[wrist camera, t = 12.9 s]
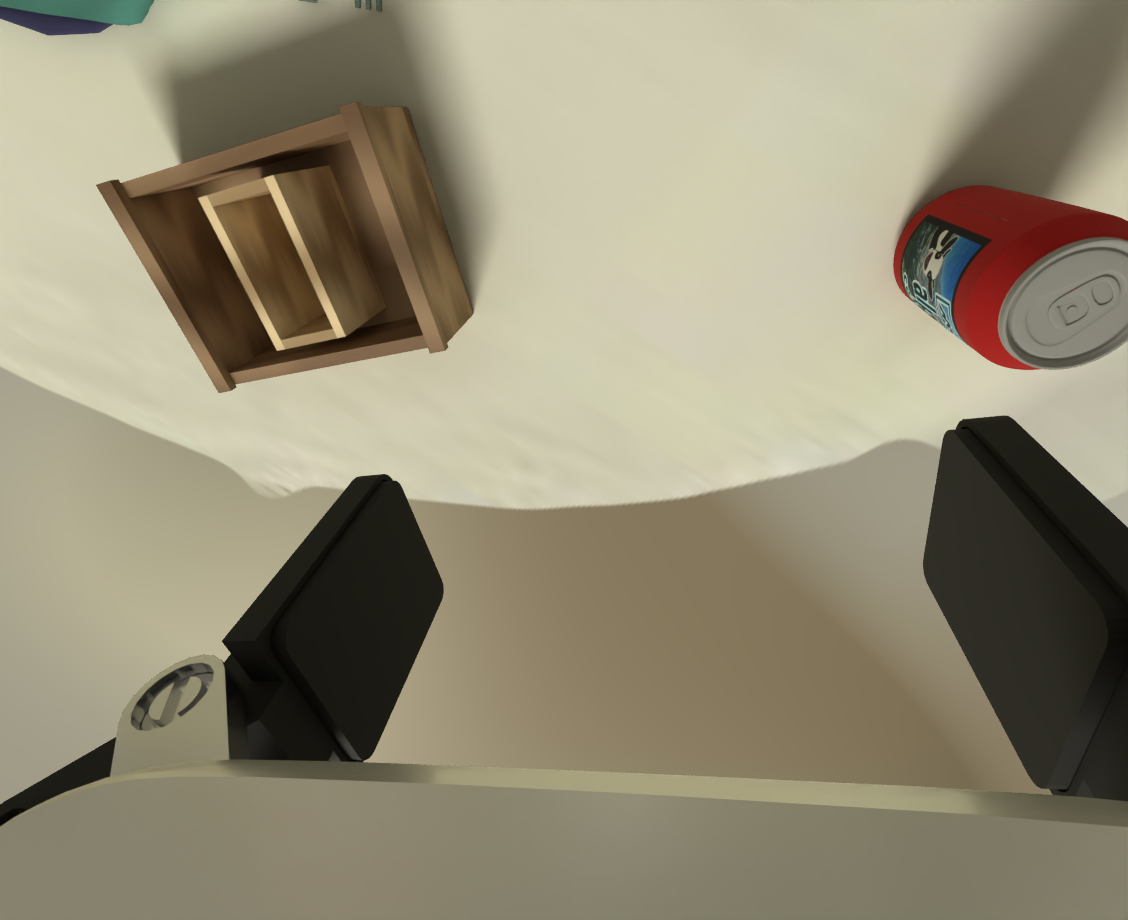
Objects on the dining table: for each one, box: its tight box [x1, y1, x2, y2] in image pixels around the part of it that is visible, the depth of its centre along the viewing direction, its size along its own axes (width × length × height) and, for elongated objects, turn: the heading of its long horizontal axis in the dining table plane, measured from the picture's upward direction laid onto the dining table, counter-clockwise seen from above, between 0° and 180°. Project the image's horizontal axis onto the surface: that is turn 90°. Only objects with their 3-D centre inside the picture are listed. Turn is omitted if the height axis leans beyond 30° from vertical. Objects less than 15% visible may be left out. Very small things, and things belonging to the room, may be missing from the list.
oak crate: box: [198, 165, 386, 351], centre depth 35 cm, size 9×5×6 cm, turn 14°
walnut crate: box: [96, 102, 473, 393], centre depth 35 cm, size 13×17×7 cm
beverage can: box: [893, 186, 1128, 370], centre depth 28 cm, size 7×7×12 cm
